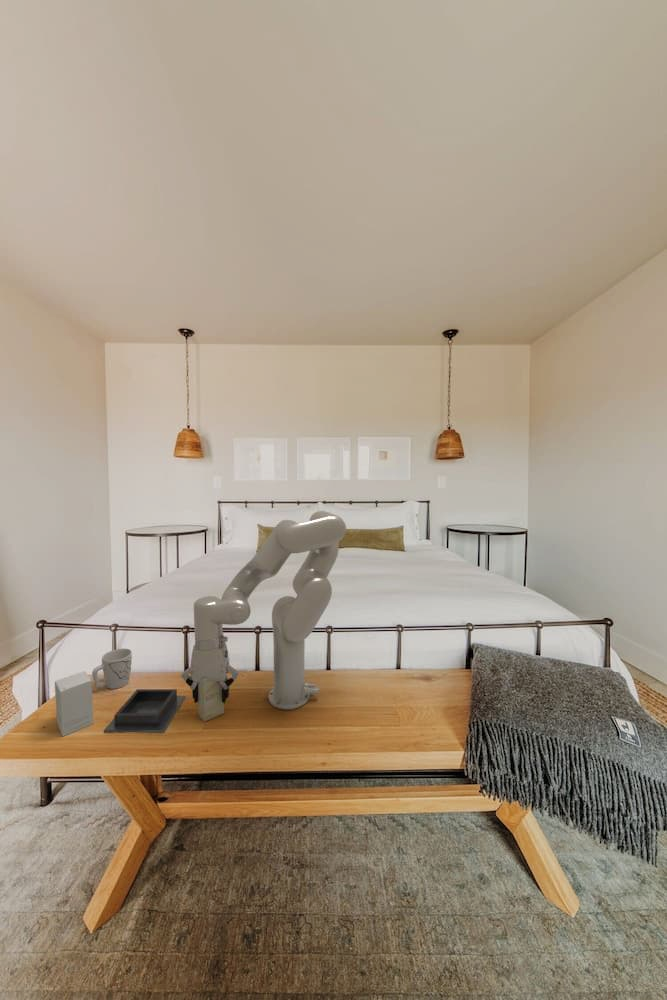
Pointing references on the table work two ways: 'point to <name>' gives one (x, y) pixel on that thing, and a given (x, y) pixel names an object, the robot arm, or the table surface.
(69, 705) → the supplement box
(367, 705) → the table surface
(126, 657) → the mug
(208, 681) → the skincare box
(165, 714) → the sleeve holder
